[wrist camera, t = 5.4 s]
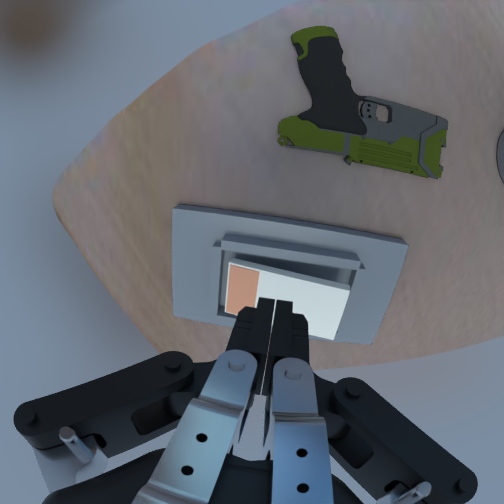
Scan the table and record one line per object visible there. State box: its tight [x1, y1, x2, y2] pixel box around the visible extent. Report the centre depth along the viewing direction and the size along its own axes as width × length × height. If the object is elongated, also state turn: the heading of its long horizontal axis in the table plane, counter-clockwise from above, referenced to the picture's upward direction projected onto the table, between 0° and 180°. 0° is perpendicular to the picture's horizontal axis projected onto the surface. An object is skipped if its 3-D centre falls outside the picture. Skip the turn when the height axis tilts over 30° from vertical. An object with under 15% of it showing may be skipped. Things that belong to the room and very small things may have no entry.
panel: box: [172, 204, 409, 344], centre depth 30 cm, size 26×14×4 cm, turn 84°
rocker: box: [225, 258, 350, 340], centre depth 27 cm, size 12×6×1 cm, turn 84°
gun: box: [278, 26, 448, 179], centre depth 23 cm, size 2×19×15 cm
